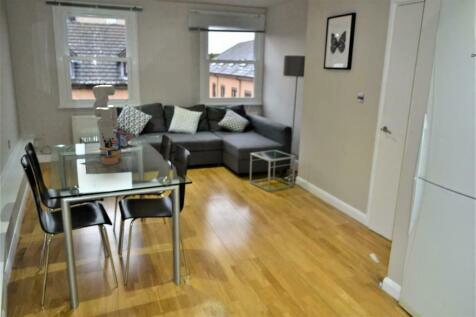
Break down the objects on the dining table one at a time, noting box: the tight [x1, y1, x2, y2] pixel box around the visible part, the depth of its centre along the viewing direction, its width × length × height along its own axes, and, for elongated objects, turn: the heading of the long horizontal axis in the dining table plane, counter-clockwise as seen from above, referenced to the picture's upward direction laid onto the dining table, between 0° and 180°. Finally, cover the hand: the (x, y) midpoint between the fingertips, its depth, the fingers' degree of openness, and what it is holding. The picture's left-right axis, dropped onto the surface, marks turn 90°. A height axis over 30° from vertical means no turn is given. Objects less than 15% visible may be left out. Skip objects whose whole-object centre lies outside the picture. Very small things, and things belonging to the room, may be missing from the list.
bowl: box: [100, 155, 119, 165], centre depth 300 cm, size 12×12×5 cm
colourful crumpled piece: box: [117, 129, 135, 148], centre depth 367 cm, size 20×22×18 cm
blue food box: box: [105, 131, 122, 159], centre depth 315 cm, size 7×11×22 cm, turn 121°
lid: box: [99, 141, 118, 151], centre depth 297 cm, size 14×14×6 cm
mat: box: [80, 159, 102, 167], centre depth 299 cm, size 13×13×1 cm
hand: (108, 146), depth 297 cm, fingers closed on lid, 3 cm apart
